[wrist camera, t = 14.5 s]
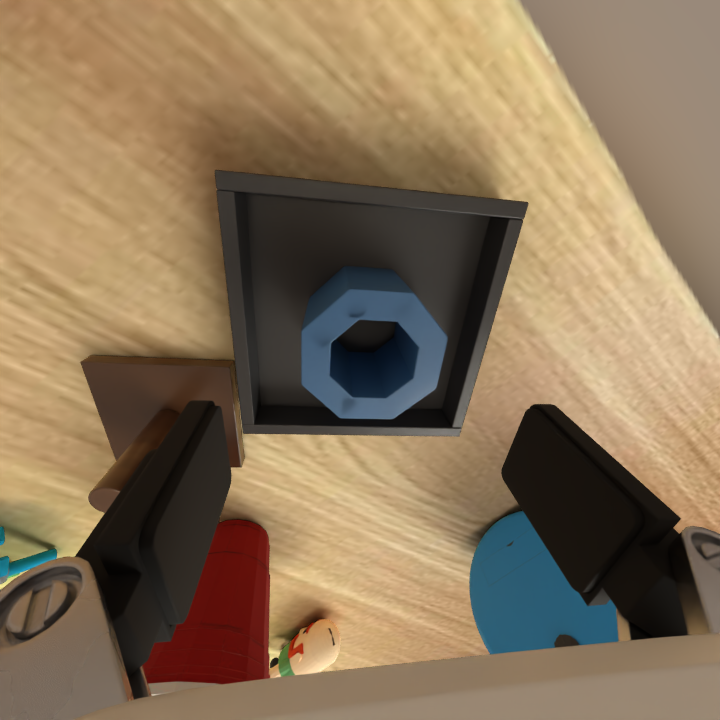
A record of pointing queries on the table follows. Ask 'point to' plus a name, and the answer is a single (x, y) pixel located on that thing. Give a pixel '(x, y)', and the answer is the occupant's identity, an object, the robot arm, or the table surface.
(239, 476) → the table surface
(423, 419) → the tray
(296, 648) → the toy figurine
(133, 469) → the dowel stand
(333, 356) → the ring
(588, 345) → the table surface
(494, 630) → the alarm clock
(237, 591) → the plastic cup
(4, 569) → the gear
